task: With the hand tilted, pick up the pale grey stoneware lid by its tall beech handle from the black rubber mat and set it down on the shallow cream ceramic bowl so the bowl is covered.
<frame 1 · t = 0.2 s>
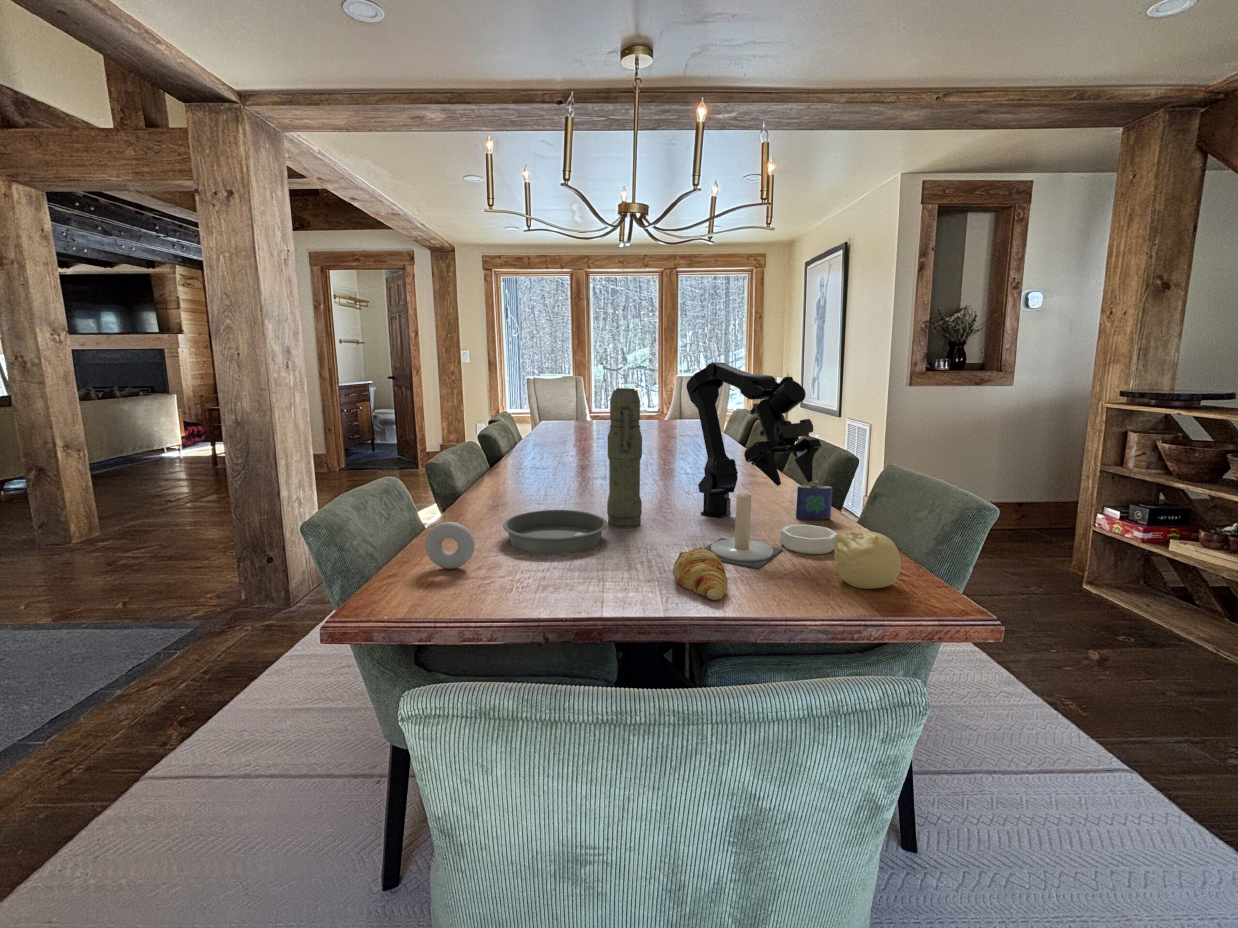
hand: (795, 483, 142), 15 cm above the table, tool tilted 35°, fingers open, 9 cm apart
cake pan: (555, 541, 148), on the table
flask: (813, 519, 167), on the table
donut: (450, 569, 127), on the table
croissant: (698, 585, 120), on the table
mat: (738, 553, 138), on the table
lid: (741, 551, 138), resting on mat
sculpture: (864, 584, 120), on the table
thermos: (624, 523, 162), on the table
bowl: (808, 546, 143), on the table
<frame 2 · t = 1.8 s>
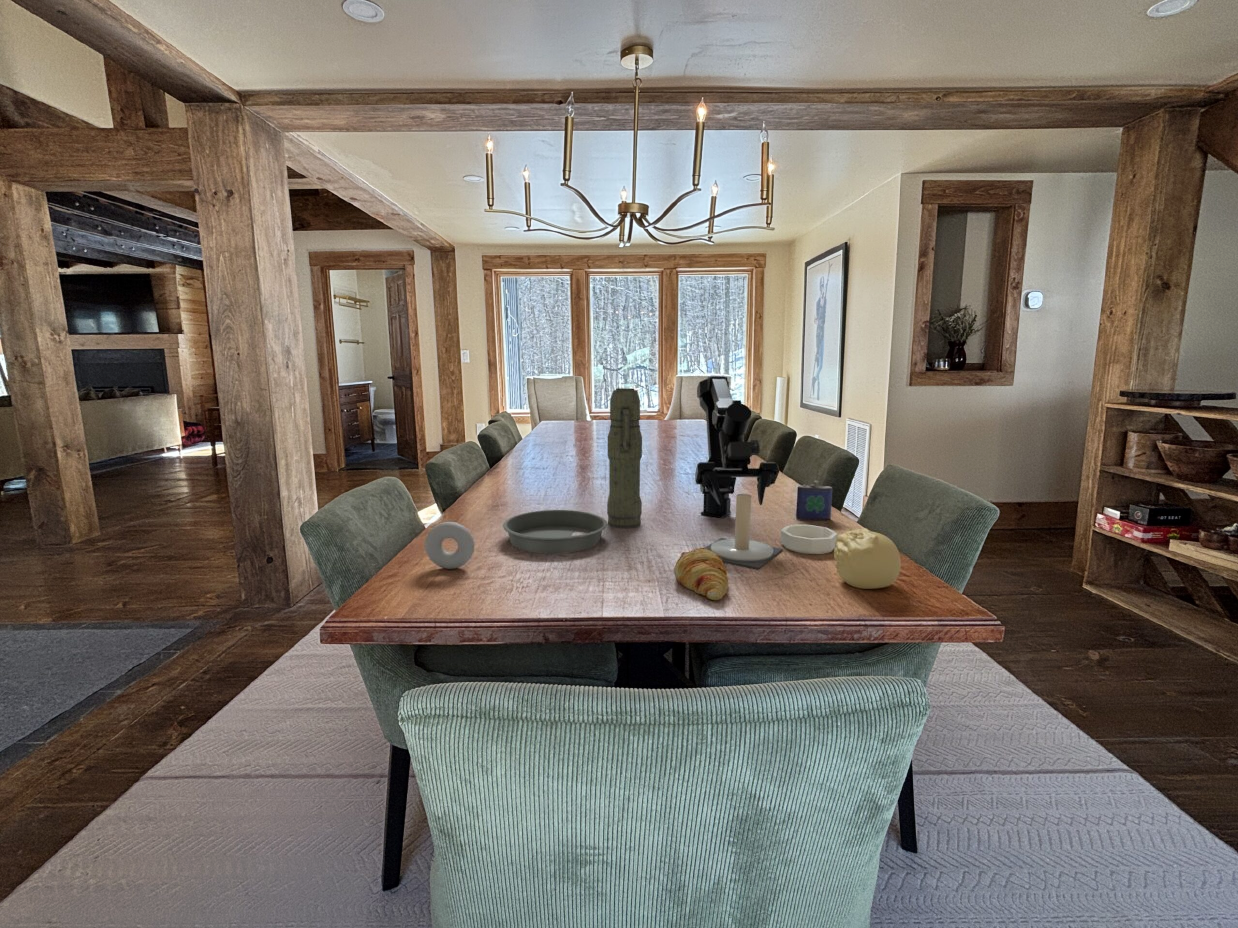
hand: (740, 504, 139), 11 cm above the table, tool tilted 45°, fingers open, 9 cm apart
nothing on the table moved.
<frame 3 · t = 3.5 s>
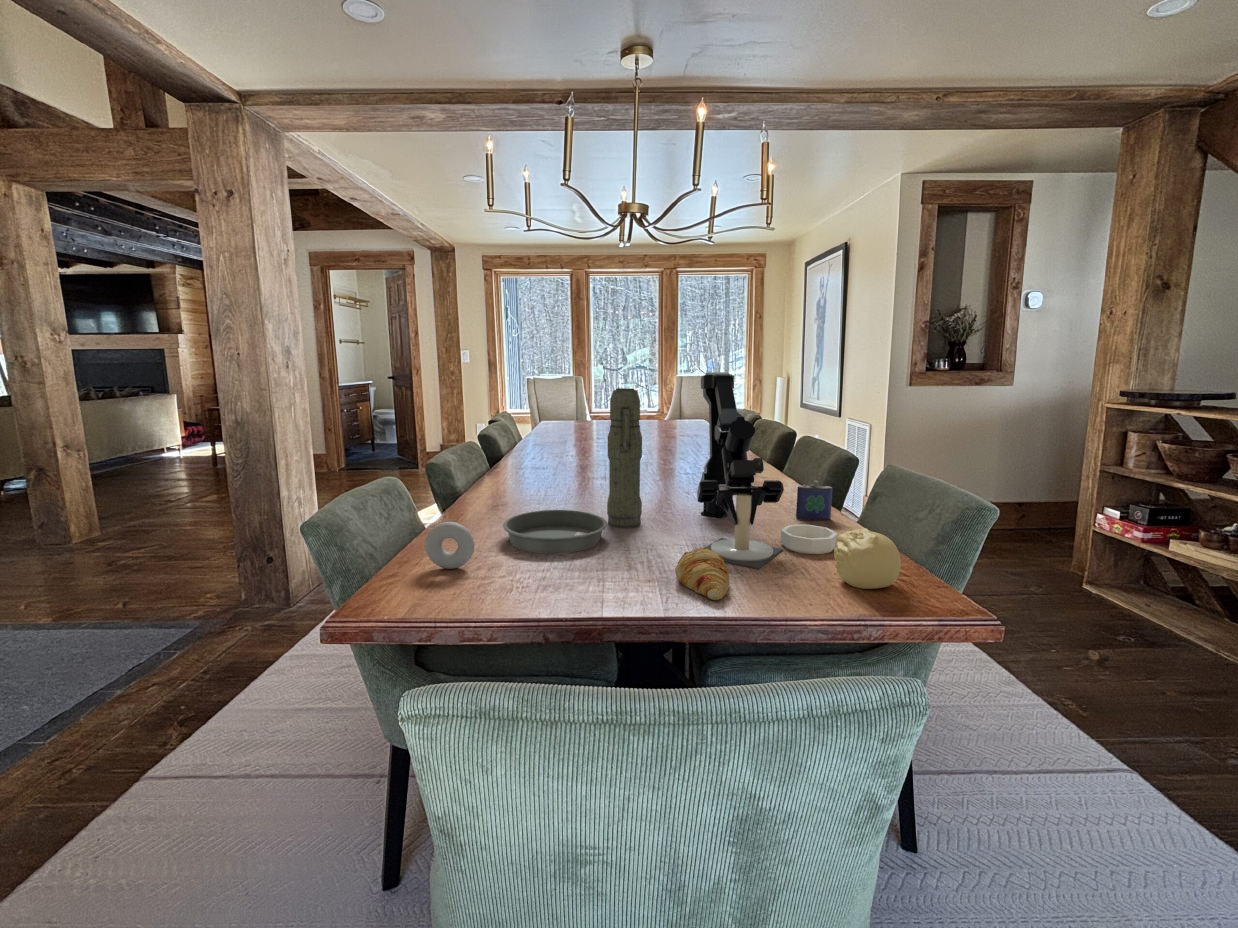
hand: (744, 524, 135), 7 cm above the table, tool tilted 45°, fingers closed on lid, 3 cm apart
lid: (741, 551, 138), resting on mat, touching gripper
everything else where it was.
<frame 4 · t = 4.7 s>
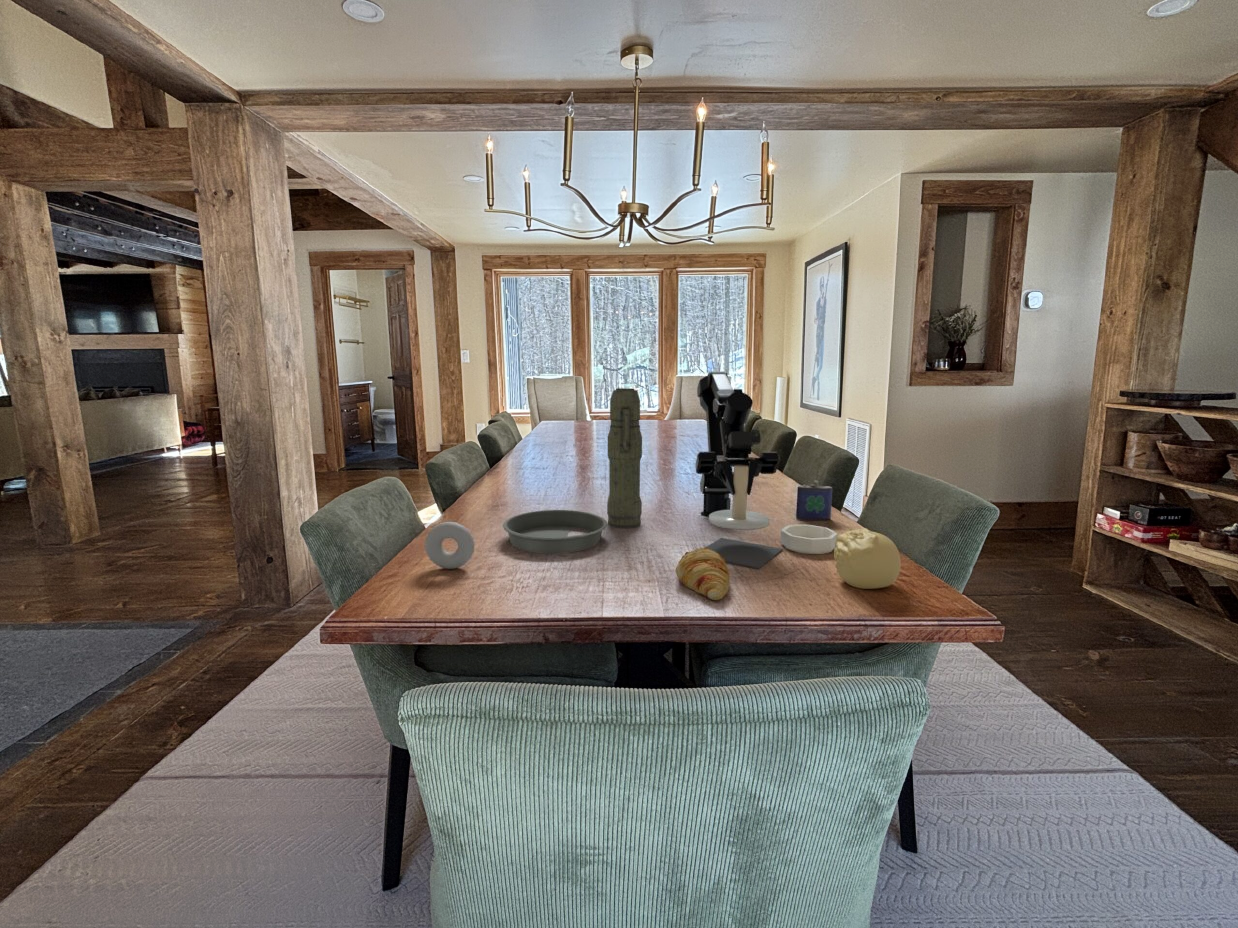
hand: (741, 494, 138), 13 cm above the table, tool tilted 45°, fingers closed on lid, 3 cm apart
lid: (738, 521, 141), point 6 cm above the table, touching gripper
everything else where it was.
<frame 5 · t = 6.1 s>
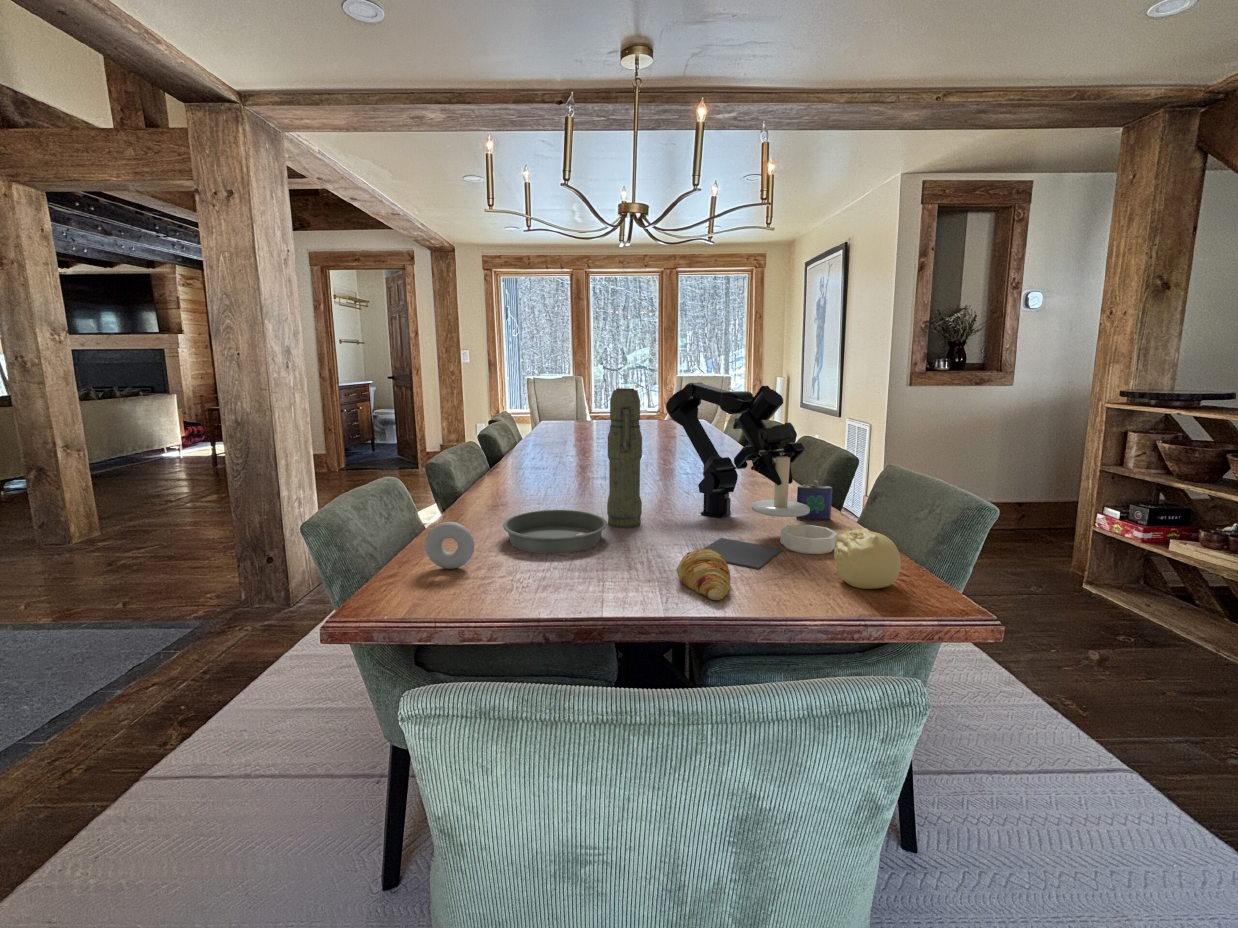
hand: (785, 483, 147), 13 cm above the table, tool tilted 45°, fingers closed on lid, 3 cm apart
lid: (780, 509, 150), point 7 cm above the table, touching gripper
everything else where it was.
when the fingers open (11 cm above the table, at t = 8.0 s): lid stays where it is, resting on bowl.
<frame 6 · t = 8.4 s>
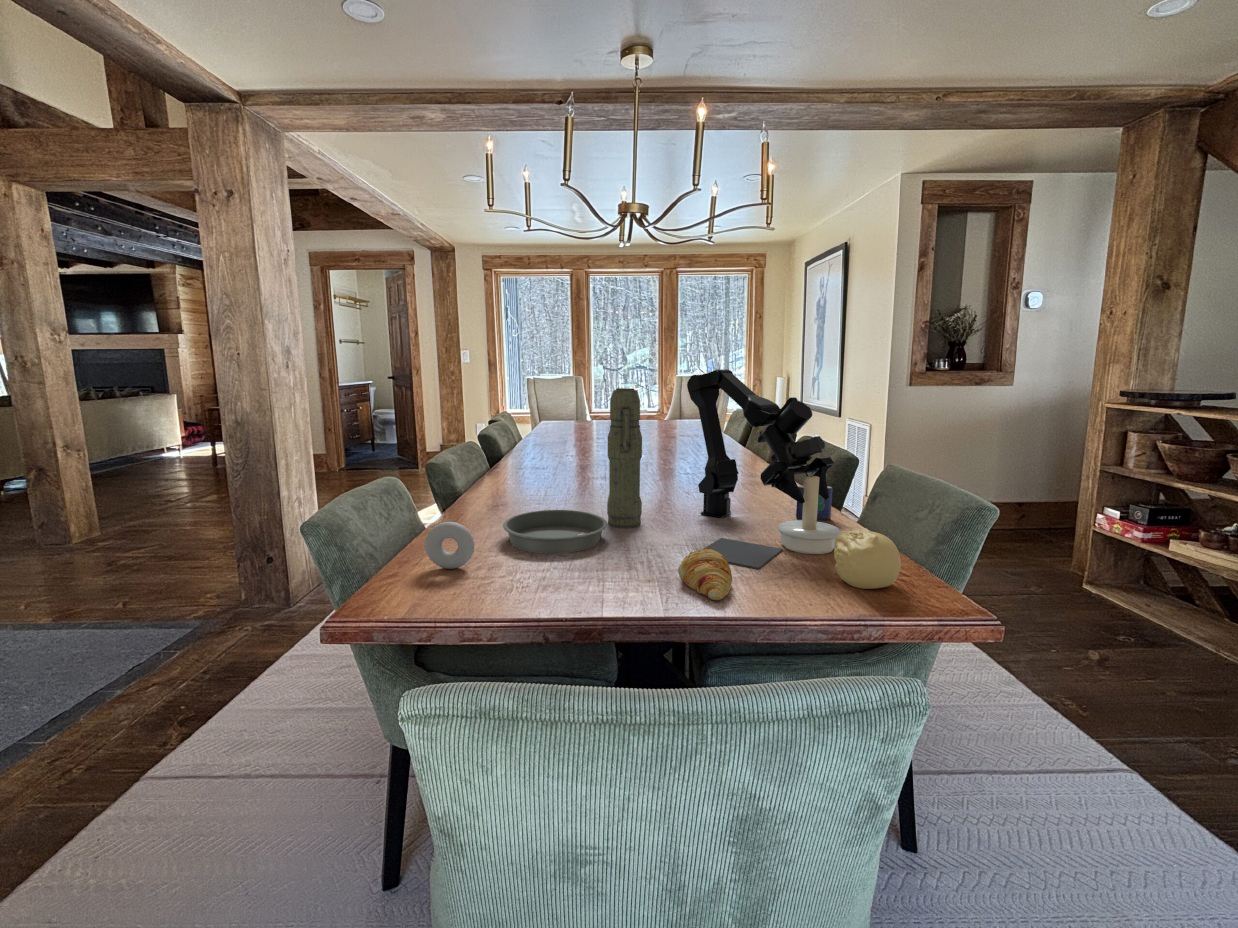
hand: (815, 500, 140), 11 cm above the table, tool tilted 45°, fingers open, 7 cm apart
lid: (808, 531, 142), point 4 cm above the table, touching bowl
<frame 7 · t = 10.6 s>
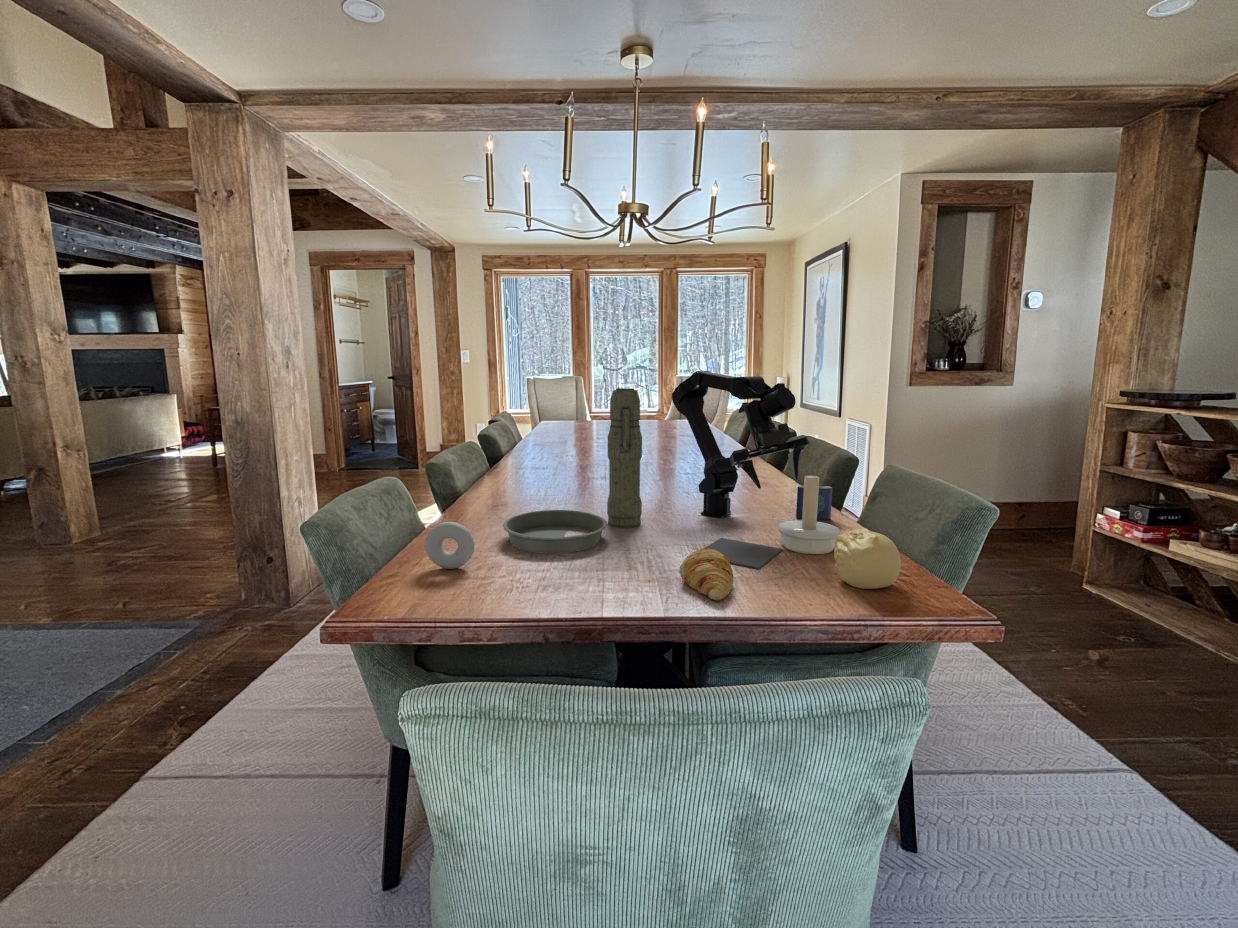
hand: (778, 484, 151), 13 cm above the table, tool tilted 25°, fingers open, 9 cm apart
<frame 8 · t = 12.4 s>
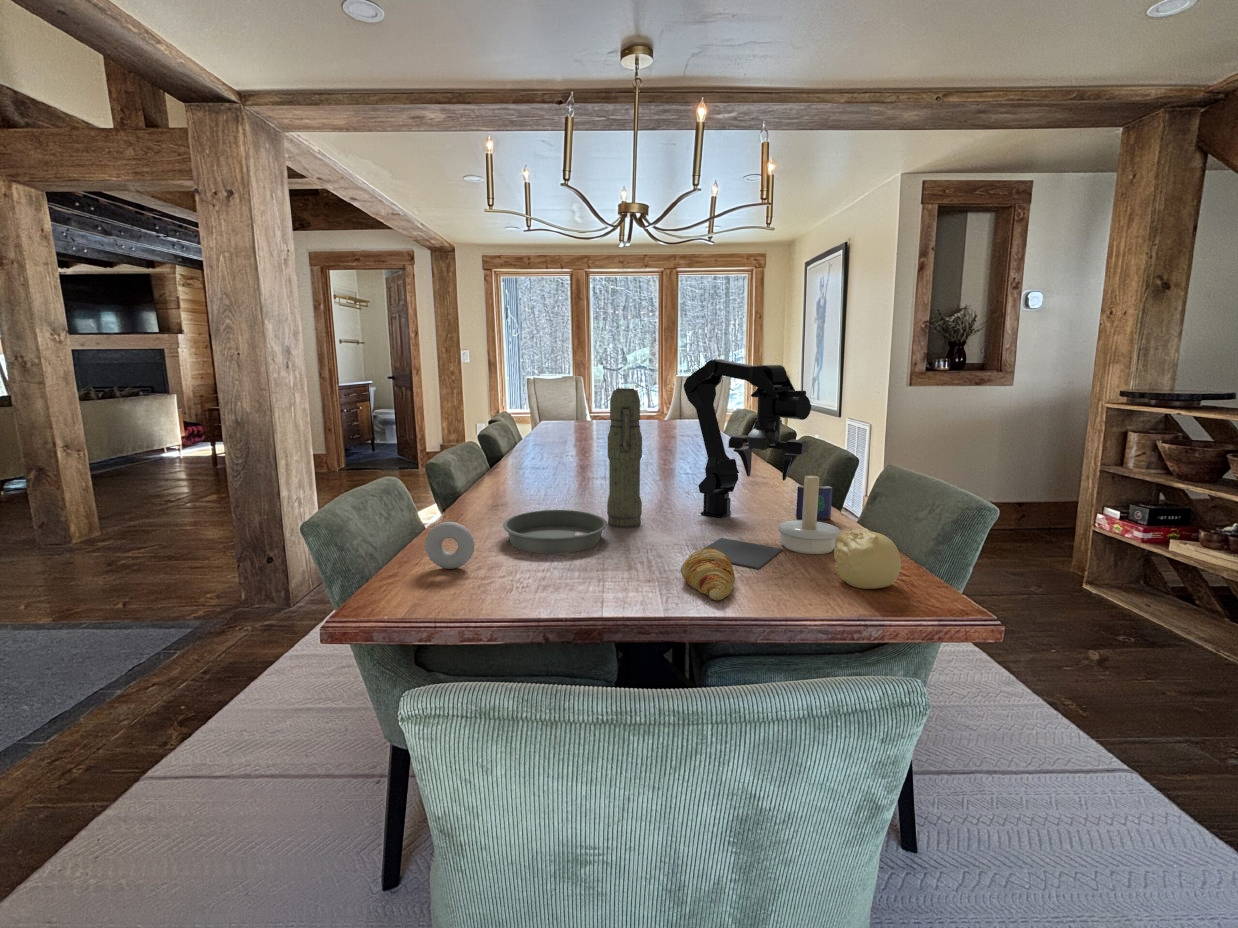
hand: (765, 478, 155), 13 cm above the table, tool pointing down, fingers open, 9 cm apart
at the end: lid 0.1 cm off-centre on the bowl, point 3.6 cm above the bowl's base; lid tilted 0°; the gripper is holding nothing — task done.
